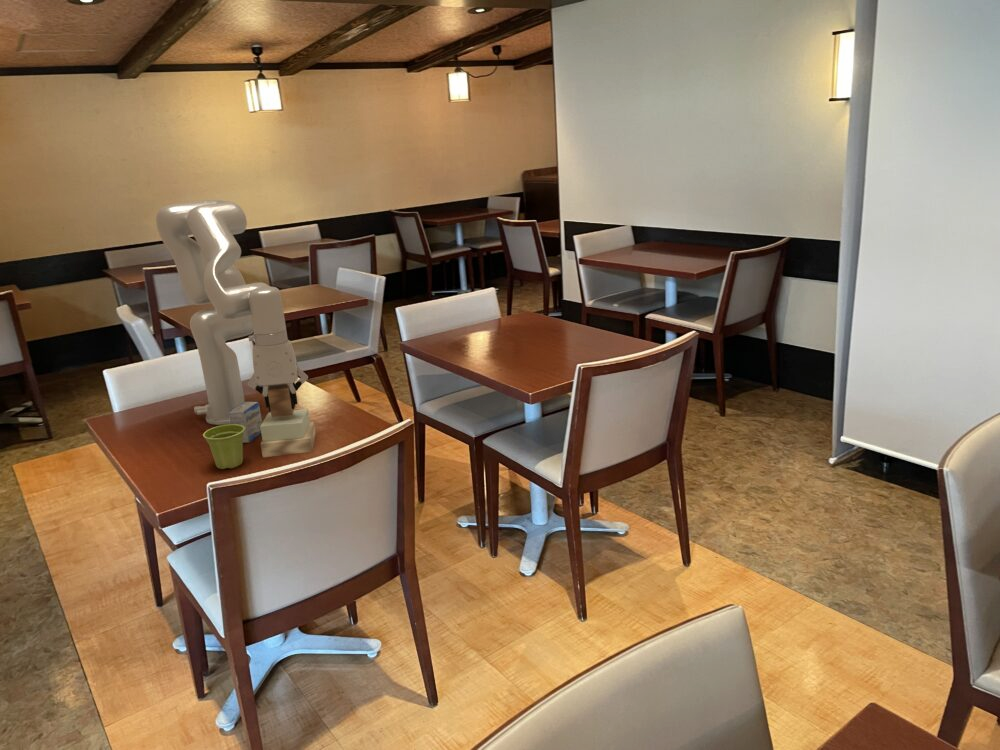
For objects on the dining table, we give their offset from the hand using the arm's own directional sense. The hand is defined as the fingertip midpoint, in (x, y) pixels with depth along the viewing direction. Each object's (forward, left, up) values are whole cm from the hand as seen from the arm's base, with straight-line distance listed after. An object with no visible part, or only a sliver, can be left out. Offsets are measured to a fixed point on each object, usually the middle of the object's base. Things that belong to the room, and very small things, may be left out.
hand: (282, 407), depth 187 cm
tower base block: (+1, 0, -11) cm, 11 cm away
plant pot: (-13, -8, -10) cm, 19 cm away
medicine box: (-11, +9, -10) cm, 18 cm away
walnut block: (0, 0, -1) cm, 1 cm away
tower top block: (0, 0, -7) cm, 7 cm away
